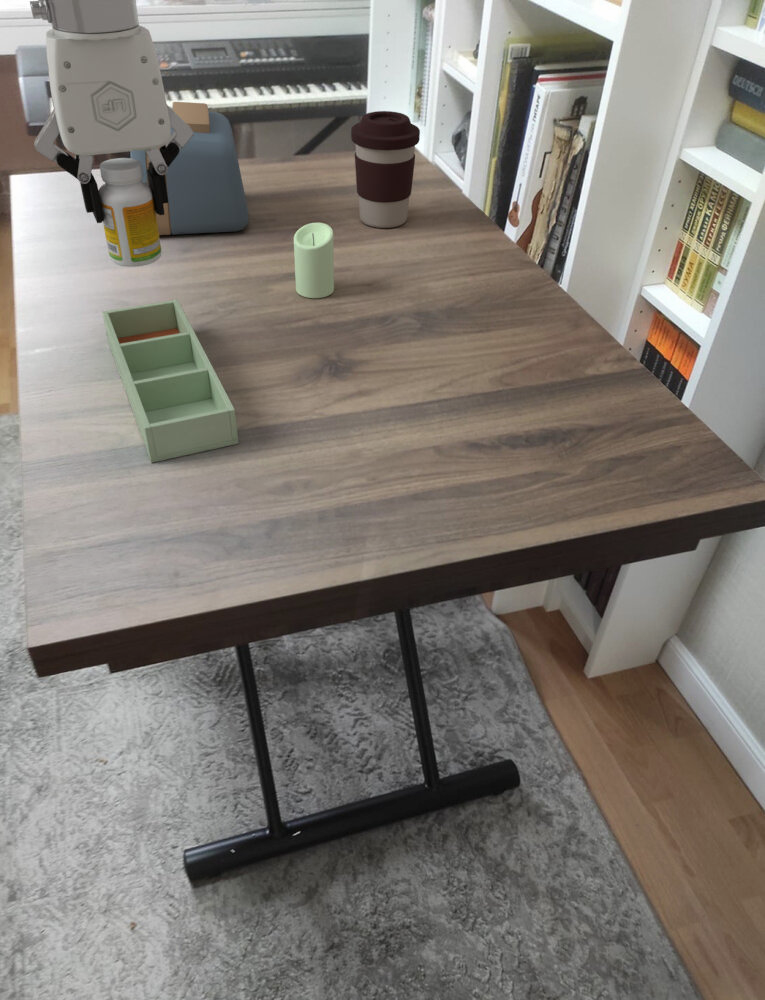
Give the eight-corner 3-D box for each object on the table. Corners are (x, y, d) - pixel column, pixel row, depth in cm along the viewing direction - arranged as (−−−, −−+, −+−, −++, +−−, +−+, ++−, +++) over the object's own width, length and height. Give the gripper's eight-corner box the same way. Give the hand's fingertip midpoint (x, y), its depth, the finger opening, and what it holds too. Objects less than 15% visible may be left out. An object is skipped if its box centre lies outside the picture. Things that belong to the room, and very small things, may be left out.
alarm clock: (140, 200, 133) (122, 92, 122) (243, 195, 135) (234, 89, 125) (137, 241, 120) (117, 125, 110) (251, 235, 123) (242, 121, 113)
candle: (322, 302, 107) (320, 240, 102) (288, 293, 109) (285, 232, 104) (340, 287, 111) (340, 226, 105) (308, 278, 112) (306, 219, 107)
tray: (151, 463, 81) (144, 428, 78) (108, 343, 98) (101, 311, 95) (238, 443, 83) (235, 409, 81) (182, 330, 101) (177, 299, 98)
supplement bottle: (168, 248, 91) (155, 156, 84) (153, 269, 87) (138, 174, 80) (120, 245, 91) (103, 153, 85) (102, 266, 87) (83, 171, 81)
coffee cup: (354, 233, 124) (354, 128, 115) (348, 209, 132) (347, 107, 122) (420, 231, 126) (425, 127, 116) (410, 207, 133) (414, 107, 123)
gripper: (-6, 27, 69) (45, 239, 80) (199, 16, 74) (219, 216, 86) (-12, 10, 74) (37, 212, 86) (180, 1, 79) (202, 192, 91)
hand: (128, 212), depth 86 cm, fingers closed on supplement bottle, 5 cm apart
